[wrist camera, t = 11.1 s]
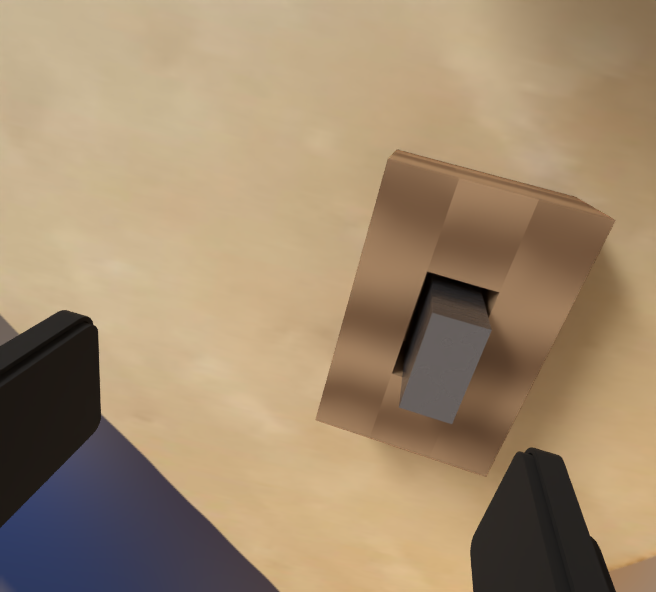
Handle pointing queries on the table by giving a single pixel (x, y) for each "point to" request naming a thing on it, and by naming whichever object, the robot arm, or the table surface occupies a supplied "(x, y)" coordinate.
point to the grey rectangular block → (443, 347)
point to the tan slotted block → (470, 267)
